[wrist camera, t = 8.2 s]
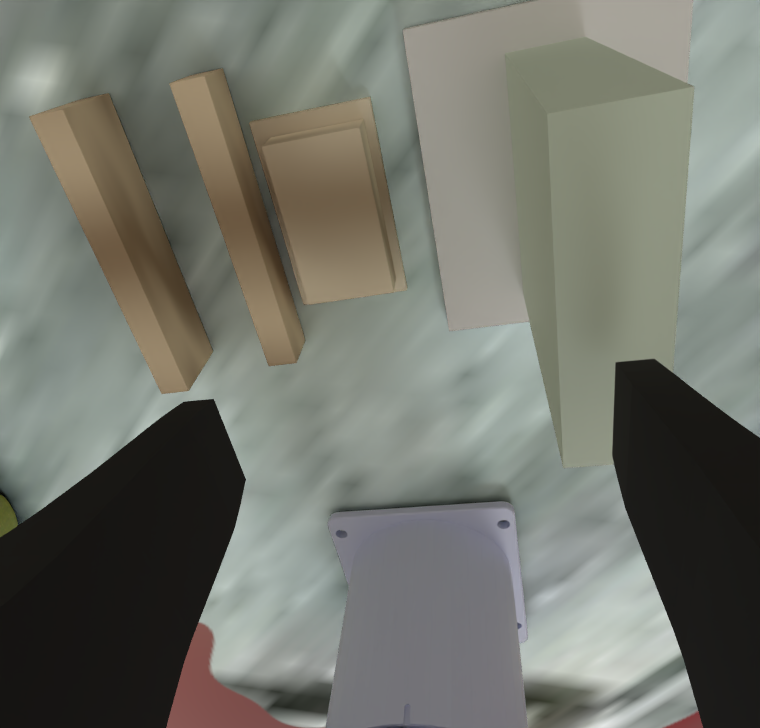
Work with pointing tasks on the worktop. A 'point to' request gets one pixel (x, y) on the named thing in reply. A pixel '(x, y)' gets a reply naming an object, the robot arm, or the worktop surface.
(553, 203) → the block
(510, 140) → the mat
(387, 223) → the offcut lower
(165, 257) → the rack
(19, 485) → the worktop surface
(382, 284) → the offcut upper
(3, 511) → the plant pot
